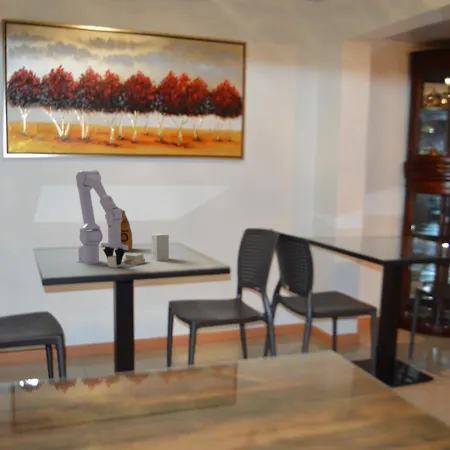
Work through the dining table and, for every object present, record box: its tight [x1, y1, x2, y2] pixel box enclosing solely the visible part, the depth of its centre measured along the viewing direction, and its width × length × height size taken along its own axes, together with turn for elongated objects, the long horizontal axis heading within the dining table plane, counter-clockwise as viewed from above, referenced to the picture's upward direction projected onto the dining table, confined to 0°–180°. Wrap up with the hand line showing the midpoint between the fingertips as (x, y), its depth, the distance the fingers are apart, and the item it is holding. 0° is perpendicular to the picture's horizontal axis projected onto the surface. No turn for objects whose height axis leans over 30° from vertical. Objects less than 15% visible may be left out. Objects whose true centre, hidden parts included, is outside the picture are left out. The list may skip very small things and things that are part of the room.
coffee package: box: [116, 209, 133, 252], centre depth 320 cm, size 10×12×22 cm
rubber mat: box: [103, 260, 151, 270], centre depth 275 cm, size 13×20×1 cm, turn 150°
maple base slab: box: [123, 257, 146, 265], centre depth 279 cm, size 7×7×2 cm
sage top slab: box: [125, 252, 144, 260], centre depth 279 cm, size 6×6×2 cm
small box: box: [151, 232, 170, 262], centre depth 290 cm, size 8×6×13 cm
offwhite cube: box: [107, 255, 123, 268], centre depth 270 cm, size 4×4×4 cm
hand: (114, 264), depth 270 cm, fingers closed on offwhite cube, 4 cm apart
